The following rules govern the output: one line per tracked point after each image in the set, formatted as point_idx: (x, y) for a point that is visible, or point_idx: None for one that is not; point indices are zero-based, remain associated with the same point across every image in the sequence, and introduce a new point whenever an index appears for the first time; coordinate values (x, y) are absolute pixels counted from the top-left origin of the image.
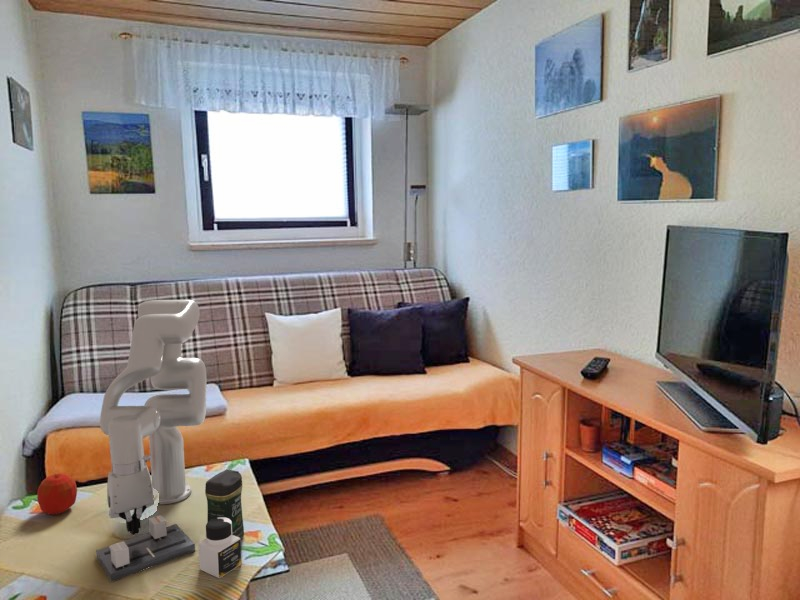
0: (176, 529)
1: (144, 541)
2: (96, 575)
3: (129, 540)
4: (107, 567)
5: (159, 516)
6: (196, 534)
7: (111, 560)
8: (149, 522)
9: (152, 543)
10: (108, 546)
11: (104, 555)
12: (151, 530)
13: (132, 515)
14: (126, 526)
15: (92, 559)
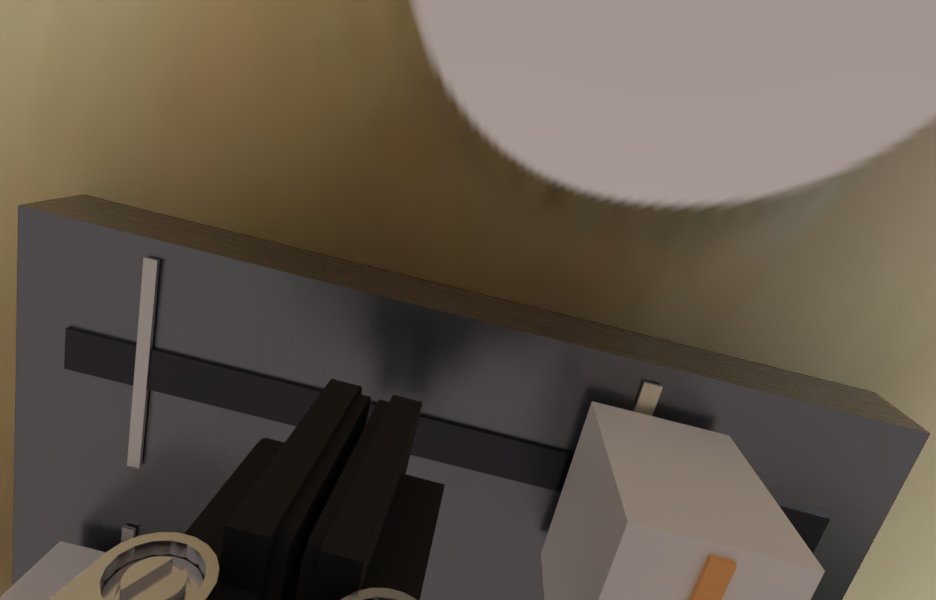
0: (826, 538)
1: (463, 468)
2: (3, 450)
3: (368, 323)
4: (18, 571)
5: (777, 593)
6: (909, 597)
7: (56, 546)
8: (612, 496)
9: (490, 564)
10: (151, 241)
11: (58, 375)
12: (579, 497)
13: (316, 572)
14: (245, 458)
15: (46, 185)
